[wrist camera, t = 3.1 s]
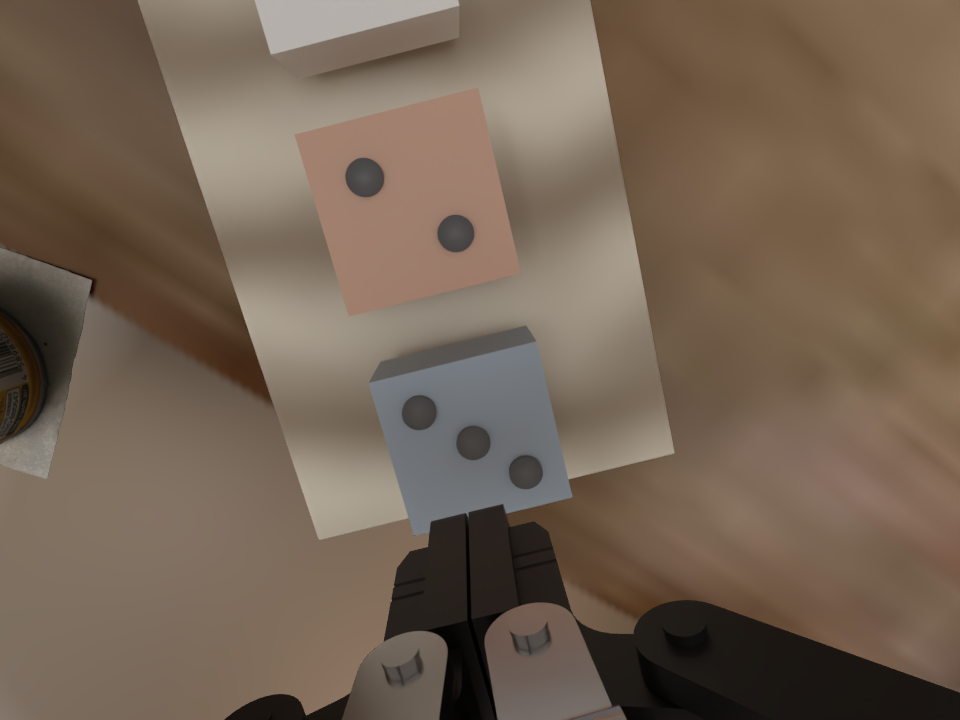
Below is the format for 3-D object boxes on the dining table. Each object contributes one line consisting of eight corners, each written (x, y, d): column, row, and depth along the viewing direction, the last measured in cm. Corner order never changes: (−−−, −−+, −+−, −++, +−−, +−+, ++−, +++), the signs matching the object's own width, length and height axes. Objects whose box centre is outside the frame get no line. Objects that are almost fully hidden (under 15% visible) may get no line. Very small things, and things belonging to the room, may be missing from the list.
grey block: (380, 361, 21) (367, 384, 18) (526, 325, 20) (537, 342, 18) (419, 496, 22) (413, 539, 19) (557, 462, 22) (573, 500, 19)
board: (139, -64, 21) (74, -122, 17) (541, -171, 21) (559, -252, 17) (329, 516, 26) (308, 562, 22) (657, 435, 25) (689, 469, 22)
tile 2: (317, 147, 19) (292, 133, 16) (475, 106, 19) (478, 85, 16) (363, 303, 20) (347, 317, 17) (512, 266, 20) (521, 273, 17)
